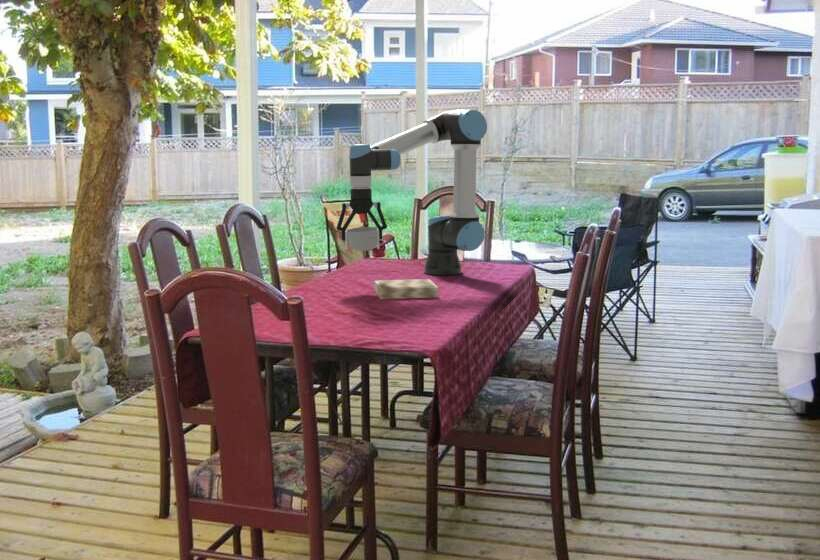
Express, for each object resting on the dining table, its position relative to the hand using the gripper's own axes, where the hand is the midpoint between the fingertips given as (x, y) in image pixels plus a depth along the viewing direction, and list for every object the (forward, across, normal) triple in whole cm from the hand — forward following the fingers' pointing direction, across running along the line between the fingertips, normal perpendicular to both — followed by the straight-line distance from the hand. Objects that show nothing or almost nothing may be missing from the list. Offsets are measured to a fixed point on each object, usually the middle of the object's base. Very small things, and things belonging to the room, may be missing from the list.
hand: (362, 249), depth 319 cm
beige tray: (+14, -14, +14) cm, 24 cm away
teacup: (0, 0, 0) cm, 1 cm away
